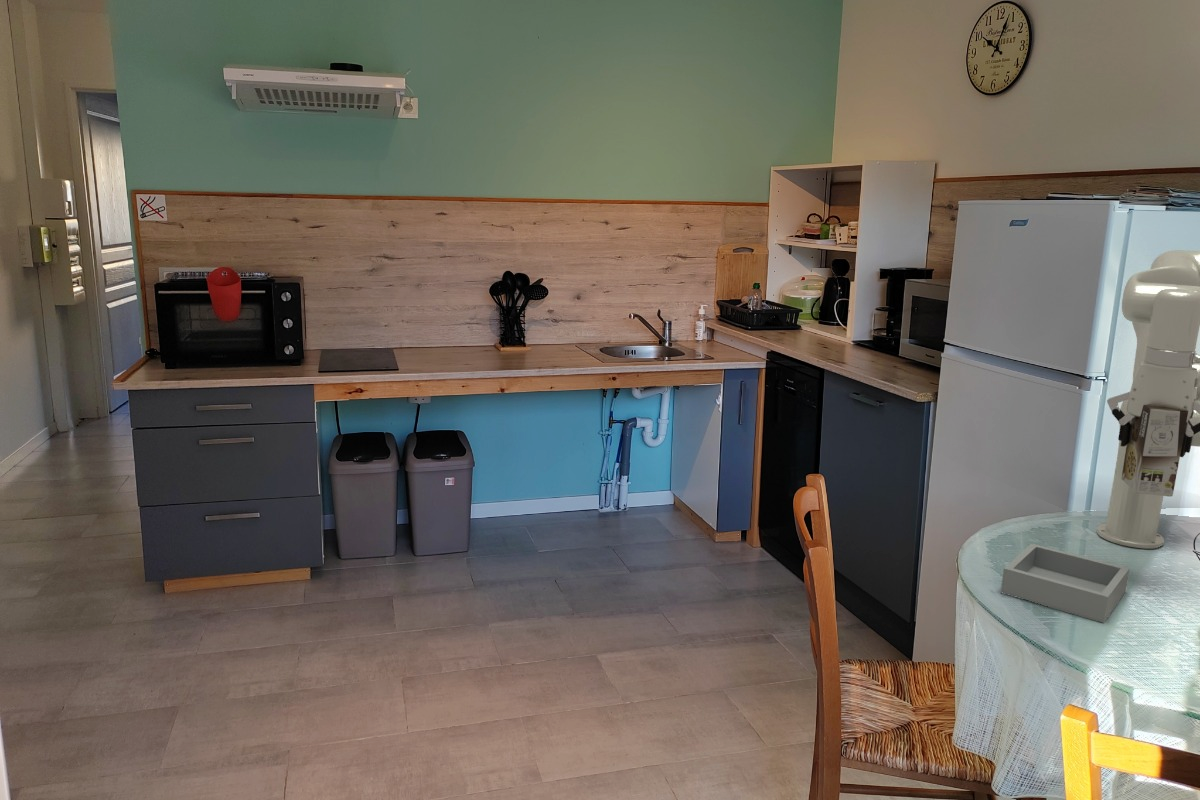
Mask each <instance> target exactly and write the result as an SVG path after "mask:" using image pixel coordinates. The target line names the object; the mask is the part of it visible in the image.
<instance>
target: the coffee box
mask: <svg viewBox="0 0 1200 800" xmlns="http://www.w3.org/2000/svg"><path fill="white" fill-rule="evenodd" d="M1188 412H1189V411H1188V410H1183V409H1176V408H1169V407H1157V406H1150V405H1143V408H1142V412H1141V416H1140V417H1136V416H1135V417H1134V418H1132V419H1131V420H1130V423H1131V430H1130V436H1129V442H1128V444H1127V446H1126V452H1125V459H1124V465H1123V471H1122V478H1121V479H1122V480H1123V481H1124V482H1125V483H1126V484H1127V485H1128V486H1129V487H1131V488H1132V489H1133V490H1134V491H1135V492H1136V493H1141V494H1152V495H1162V496H1163V497H1173V495H1174V490H1175V486H1176V480H1177V474H1178V469H1179V464H1180V460H1181V457H1180V454H1181V448H1182V443H1183V438H1184V432H1185V427H1186V422H1187V416H1188Z"/></svg>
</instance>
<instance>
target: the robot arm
mask: <svg viewBox="0 0 1200 800" xmlns="http://www.w3.org/2000/svg"><path fill="white" fill-rule="evenodd" d="M1121 312H1122V314H1123V315H1122V316H1123V317H1124V318H1125V319H1126V320H1128V321H1129V322H1131V323H1132V327H1133V329H1134V333H1135V337H1136V349H1135V355H1134V356H1135V357H1134V364H1133V372H1132V383H1131V386H1130V387H1131V388H1130V391H1127V392H1125V393H1124V392H1123V393H1121V394H1118V395H1115V396H1113V397H1110V398H1108V399H1107V401H1106V403H1107V405H1108V407H1109V409H1110V410H1111V414H1112V415H1113V417H1114V418H1115V419H1116V421H1118V424H1119V432H1118V437H1117V439H1118V448H1117V449H1118V450H1117V455H1116V463H1115V469H1114V475H1113V479H1112V480H1113V481H1112V485H1111V486H1112V487H1111V492H1110V493H1111V494H1110V499H1109V505H1108V511H1107V516H1106V523H1101V524H1099V525H1098V526H1097V528H1096V533H1097V535H1098V536H1099V537H1100V538H1102V539H1104V540H1106V541H1108V542H1111V543H1113V544H1117V545H1121V546H1125V547H1128V548H1136V549H1143V550H1144V549H1146V550H1147V549H1149V550H1152V549H1159V548H1161V547H1160V546H1162V545H1163V546H1164V543H1165V538H1164V537H1163V536H1162V535H1161V534H1159V533H1158V528H1159V522H1160V516H1161V512H1162V508H1163V507H1162V506H1163V500H1164V496H1162V495H1152V494H1141V493H1136V492H1135V491H1134V490H1133V489H1132V488H1131V487H1129V486H1128V485H1127V484H1126V483H1125V482H1124V481H1123V480H1122V479H1121V478H1122V471H1123V465H1124V459H1125V452H1126V446H1127V444H1128V442H1129V436H1130V430H1131V423H1130V420H1131V419H1132V418H1134V417H1135V416H1136V417H1140V416H1141V412H1142V408H1143V405H1150V406H1157V407H1169V408H1176V409H1183V410H1188V411H1189V412H1188V416H1187V422H1186V427H1185V432H1184V438H1183V443H1182V448H1181V454H1180V458H1184V457H1185V455H1186V453H1187V454H1189V453H1190V452H1191V447H1200V354H1198V353H1196V352H1197V350H1196V348H1197V342H1198V337H1199V332H1200V250H1181V249H1179V250H1176V249H1175V250H1169V251H1165V252H1163V253H1160V255H1159V254H1158V256H1157V257H1155V259H1153V262H1152V264H1151V266H1150V269H1147V270H1142V271H1139V272H1137V273H1134V274H1132V275H1131V276H1130V277H1129V278H1128V280H1127V281H1126V283H1125V286H1124V289H1123V294H1122V299H1121ZM1119 403H1121V405H1120V406H1119ZM1163 546H1162V547H1163ZM1158 547H1159V548H1158Z"/></svg>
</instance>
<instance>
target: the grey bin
mask: <svg viewBox="0 0 1200 800" xmlns="http://www.w3.org/2000/svg"><path fill="white" fill-rule="evenodd" d="M1129 574H1130V567H1126V566H1122V565H1118V564H1114V563H1111V562H1106V561H1103V560H1098V559H1095V558H1090V557H1087V556H1083V555H1079V554H1075V553H1071V552H1067V551H1064V550H1063V551H1062V550H1059V549H1055V548H1052V547H1051V548H1050V547H1048V546H1044V545H1043V546H1042V545H1039V544H1035V543H1030V545H1028V546H1027V547H1026V548H1025V549H1024V550H1022V551H1021V552H1020V553H1019V554H1018V555H1017V556H1015V558H1014V559H1013V560H1012V561H1010V562H1009V563H1008V564H1007V565H1006V566H1005V567H1004V568H1003V574H1002V579H1001V588H1000V593H1001V592H1003V593H1005V594H1004V595H1006V594H1010V595H1013V596H1017V597H1020V598H1023V599H1026V600H1029V601H1028V602H1030V601H1032V602H1031V603H1033V602H1035V603H1034V604H1037V603H1038V605H1040V604H1041V605H1040V606H1044V607H1047V606H1048V607H1047V608H1051V609H1054V610H1058V611H1062V612H1064V613H1069V614H1072V615H1075V616H1078V617H1082V618H1086V619H1088V620H1092V621H1096V622H1099V623H1102V624H1104V623H1105V622H1106V621H1107V619H1108V618H1109V616H1111V613H1112V612H1113V611H1114V609H1115V608H1116V606H1117V605H1118V604H1119V602H1120V601H1121V599H1122V598H1123V596H1124V595H1125V594H1126V591H1127V585H1128V580H1129V579H1128V578H1129ZM1013 596H1012V597H1013ZM1020 598H1019V599H1020ZM1023 599H1022V600H1023ZM1026 600H1025V601H1026Z"/></svg>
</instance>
